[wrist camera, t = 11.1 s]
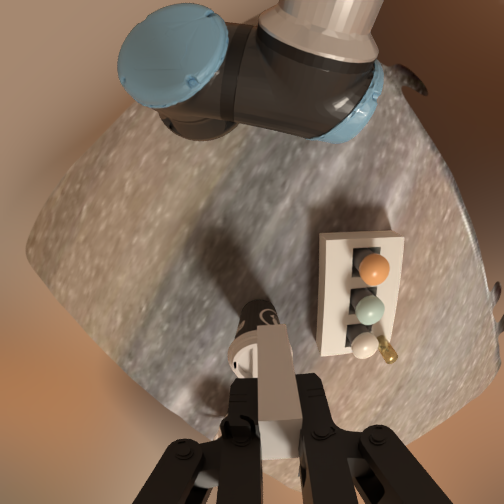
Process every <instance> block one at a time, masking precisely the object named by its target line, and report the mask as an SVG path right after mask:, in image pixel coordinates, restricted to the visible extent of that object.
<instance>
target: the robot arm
mask: <svg viewBox="0 0 504 504" xmlns="http://www.w3.org/2000/svg"><path fill="white" fill-rule="evenodd" d="M382 2H383V0H279V3H278V4H277V5H275V6H273V7H271V8H269V9H267V10H265V11H263V12H262V13H261V14H260V16H259V19H258V26H252V25H245V24H237V23H228V22H224V20H223V19H222V18H221V17H220V16H219V15H218V14H216V13H214V12H213V11H212V10H211V9H209V8H208V7H205V6H203V5H199V4H194V3H181V4H174V5H170V6H166V7H163V8H161V9H159V10H157V11H155V12H153V13H151V14H150V15H148V16H147V18H146V19H145V20H144V21H143V22H141V23H138V24H137V25H136V26H135V27H134V28H133V29H132V30H131V32H130V33H129V34H128V36H127V37H126V39H125V41H124V42H123V45H122V47H121V49H120V52H119V56H118V62H117V71H118V76H119V80H120V82H121V84H122V86H123V87H124V89H125V90H126V91H127V93H129V94H130V95H131V96H132V97H133V98H134V100H136V101H137V102H138V103H141V104H142V105H143V106H147V107H149V108H152V109H154V110H156V111H157V112H158V113H159V116H160V118H161V120H162V121H163V123H164V124H165V125H166V126H167V128H168V129H169V130H171V131H172V132H173V133H175V134H177V135H179V136H181V137H183V138H186V139H189V140H193V141H209V140H214V139H217V138H220V137H222V136H224V135H226V134H228V133H229V132H231V131H232V130H233V129H234V128H235V127H237V125H238V124H239V123H241V124H246V125H251V126H256V127H261V128H266V129H270V130H275V131H279V132H283V133H287V134H291V135H295V136H299V137H303V138H305V139H307V140H308V139H309V140H319V141H324V142H328V143H333V144H340V143H344V142H347V141H349V140H351V139H352V138H354V137H355V136H356V135H357V134H358V133H359V132H360V131H361V130H362V129H363V128H364V127H365V126H366V124H367V123H368V121H369V120H370V118H371V116H372V115H373V113H374V111H375V109H376V106H377V98H378V96H380V95H381V92H382V88H383V81H384V74H383V69H382V66H381V64H380V62H379V61H378V60H376V58H377V55H378V52H379V51H378V47H377V45H376V43H375V41H374V40H373V37H372V36H371V33H370V31H371V28H372V26H373V24H374V21H375V19H376V17H377V14H378V12H379V10H380V7H381V5H382ZM257 359H258V378H236V379H235V381H234V382H233V383H232V385H231V388H230V398H229V408H228V416H226V417H225V418H224V419H223V420H222V421H221V424H220V429H221V434H222V436H221V437H220V438H218V439H216V440H214V441H211V442H206V443H201V444H199V443H198V442H196V441H194V440H192V439H179V440H176V441H174V442H172V443H171V444H170V445H169V446H168V447H167V449H166V450H165V452H164V454H163V455H162V457H161V459H160V460H159V462H158V464H157V465H156V467H155V468H154V470H153V472H152V473H151V475H150V476H149V478H148V480H147V481H146V483H145V484H144V486H143V488H142V489H141V491H140V492H139V494H138V495H137V497H136V498H135V500H134V502H133V503H132V504H206V502H207V500H208V498H209V495H210V493H211V490H212V488H213V487H216V486H218V492H217V502H216V504H263V481H262V479H263V477H262V460H271V459H286V458H298V457H299V458H300V467H299V474H298V477H299V476H300V479H301V488H302V495H303V504H358V500H357V496H356V492H355V488H354V486H355V487H356V489H357V491H358V492H359V494H360V496H361V497H362V499H363V500H364V502H365V504H453V503H452V502H451V500H450V499H449V498H448V497H447V496H446V494H445V493H444V492H443V491H442V490H441V488H440V487H439V486H438V485H437V484H436V482H435V481H434V480H433V479H432V478H431V476H430V475H429V474H428V473H427V472H426V470H425V469H424V468H423V467H422V465H421V464H420V463H419V462H418V461H417V459H416V458H415V457H414V456H413V455H412V453H411V452H410V451H409V450H408V449H407V447H406V446H405V445H404V444H403V443H402V441H401V440H400V439H399V438H398V436H397V435H396V434H395V433H394V432H393V430H391V429H390V428H389V427H387V426H384V425H372V426H369V427H368V428H366V429H364V431H363V432H352V431H346V430H343V429H340V428H339V427H338V426H336V425H335V423H334V422H333V420H332V417H331V413H330V410H329V406H328V402H327V399H326V396H325V392H324V389H323V385H322V381H321V379H320V378H319V377H318V376H317V375H316V374H315V373H308V374H297V375H295V372H294V366H293V361H292V355H291V350H290V345H289V339H288V334H287V329H286V324H279V325H261V326H257Z"/></svg>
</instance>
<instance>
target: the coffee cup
mask: <svg viewBox="0 0 504 504" xmlns="http://www.w3.org/2000/svg"><path fill="white" fill-rule="evenodd" d="M279 324H280V322H279V319H278V316H277V313H276V310H275V308H274V306H273V305H272V304H271V303H269V302H267V301H264V300H254V301H251V302H249V303H248V304H247V305H246V306H245V307H244V308H243V310H242V314H241V317H240V321H239V325H238V329H237V332H236V336H235V340H234V341H233V342H232V344H231V345H230V347H229V350H228V361H229V364H230V367H231V368H232V370H233V371H234V373H235V374H236V375H237V376H238V377H239V378H258V359H257V326H261V325H279ZM289 345H290V344H289ZM290 350H291V355H292V358H293V352H292V348H291V345H290Z"/></svg>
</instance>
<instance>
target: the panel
mask: <svg viewBox="0 0 504 504" xmlns="http://www.w3.org/2000/svg"><path fill="white" fill-rule="evenodd" d="M366 247H369V249H370V250H371V251H372V252H374V253H377V254H380V255H382V256H383V257H384V258H386V259H387V261H388V262H389V266H390V271H389V274H388V277H387V278H386V280H385V281H384V282H382V283H381V284H379V285H376V286H371V285H368V284H366V283H365V282H364V281H363V280H362V278H361V277H360V274H359V272H358V270H357V269H356V268H355V267H352V260H353V248H366ZM403 248H404V236H402V235H400V234H398V233H396V232H394V231H392V230H386V231H358V232H333V233H319V287H318V313H317V332H316V344H317V347H318V350H319V353H320V356H321V357H322V356H331V355H340V354H348V353H353V352H352V350H351V343H350V341H349V339H348V337H347V335H346V333H347V325H350V324H359V323H361V322H360V321H359V320H358V318H357V316H356V313H355V309H354V307H353V306H352V304H351V303H350V291H351V289H354V288H365V287H367V288H368V290H369V291H370V292H371V293H372V294H373V295H374V296H377V297H378V298H379V299H380V300H381V301H382V302H383V304H384V306H385V311H384V314H383V316H382V318H381V319H380V320H379V321H378V322H376V323H374V324H372V325H366V327H367V328H368V330H369V331H370V333H372V334H374V335H375V337H376V338H377V337H378V336H380V335H384V336H385V337H386V339H387V340H388V341H389V343H390V338H391V333H392V328H393V323H394V317H395V312H396V305H397V299H398V292H399V285H400V277H401V268H402V259H403Z"/></svg>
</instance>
